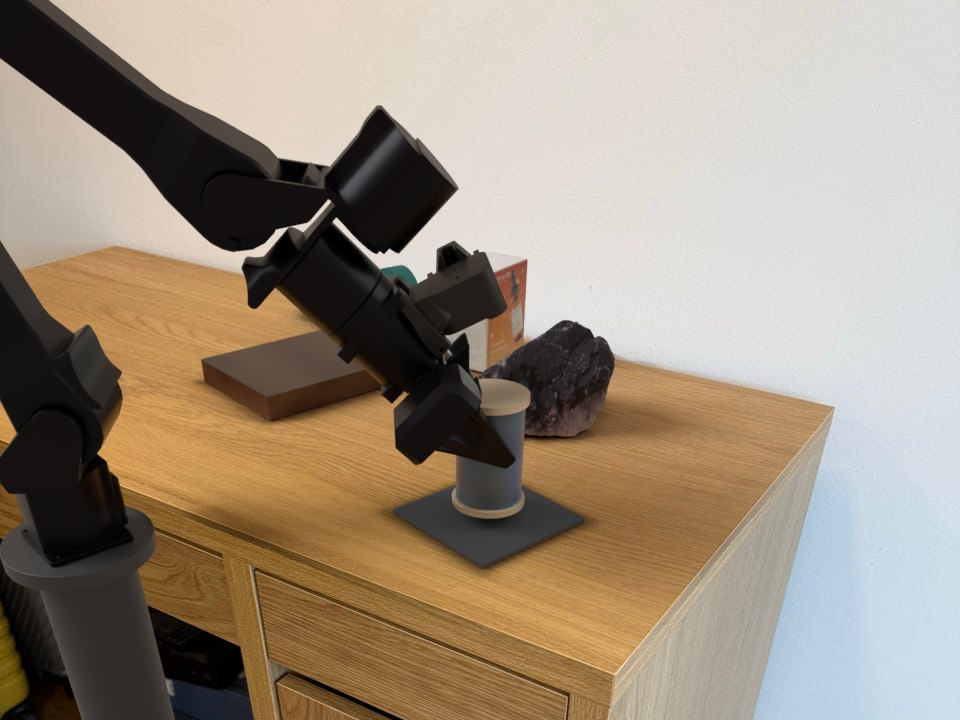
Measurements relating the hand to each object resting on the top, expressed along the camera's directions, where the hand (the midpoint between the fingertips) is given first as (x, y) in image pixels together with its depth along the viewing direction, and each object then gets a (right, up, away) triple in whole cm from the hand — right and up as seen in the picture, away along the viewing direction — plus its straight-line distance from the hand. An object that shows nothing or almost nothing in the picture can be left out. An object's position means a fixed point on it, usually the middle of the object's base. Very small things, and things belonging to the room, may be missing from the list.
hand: (506, 448), depth 70 cm
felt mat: (-1, -5, +4) cm, 6 cm away
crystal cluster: (+4, +7, +20) cm, 22 cm away
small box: (-1, +17, +33) cm, 37 cm away
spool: (-1, -4, +3) cm, 5 cm away
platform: (-21, +12, +26) cm, 35 cm away
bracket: (-17, +23, +41) cm, 50 cm away
